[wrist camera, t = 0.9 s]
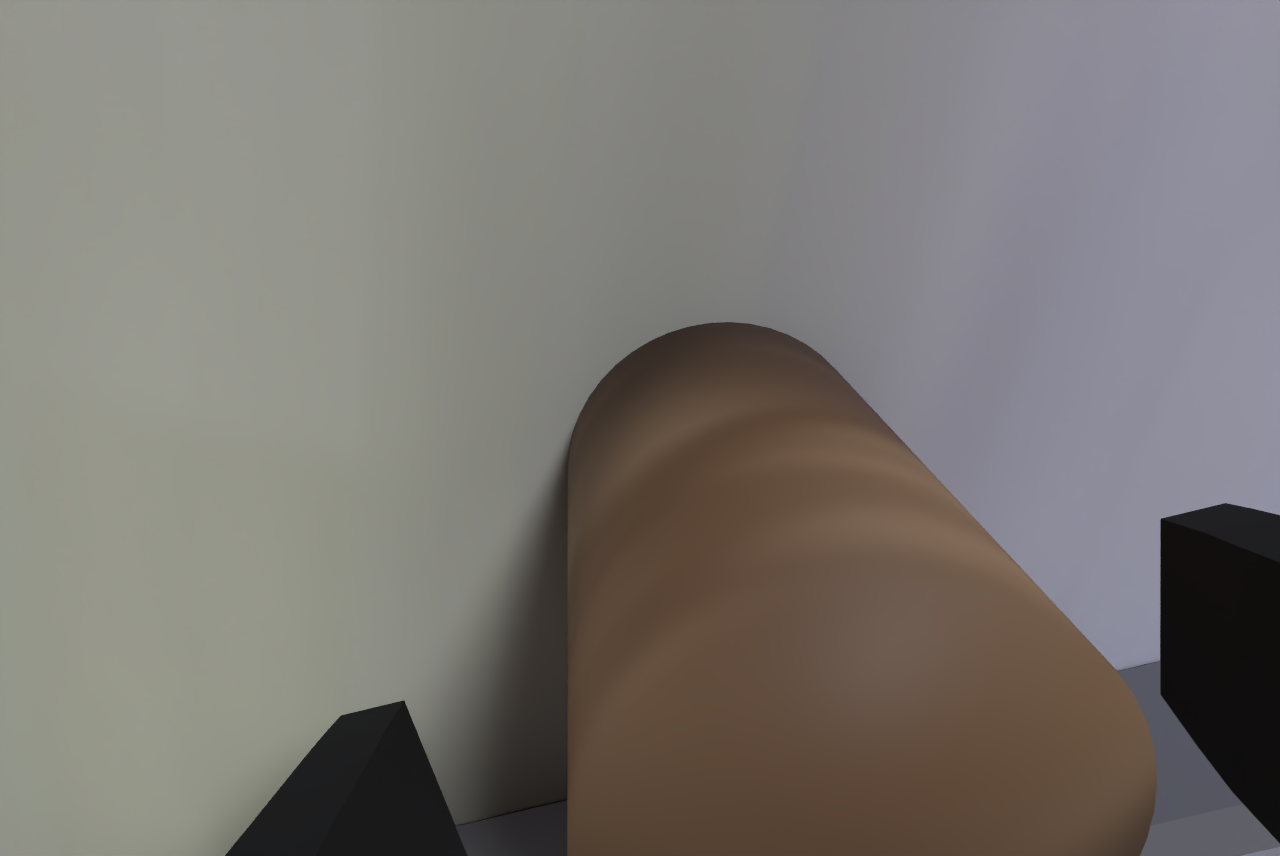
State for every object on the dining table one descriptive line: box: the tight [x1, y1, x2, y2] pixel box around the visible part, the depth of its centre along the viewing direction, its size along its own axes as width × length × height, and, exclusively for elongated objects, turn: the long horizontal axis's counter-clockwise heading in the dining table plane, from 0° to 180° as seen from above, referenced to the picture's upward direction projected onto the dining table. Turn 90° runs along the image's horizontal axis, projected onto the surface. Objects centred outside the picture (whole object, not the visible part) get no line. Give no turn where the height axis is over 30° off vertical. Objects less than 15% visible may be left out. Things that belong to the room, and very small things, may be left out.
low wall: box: [456, 661, 1280, 856], centre depth 14 cm, size 20×1×3 cm, turn 103°
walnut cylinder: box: [567, 322, 1157, 856], centre depth 10 cm, size 4×4×7 cm
